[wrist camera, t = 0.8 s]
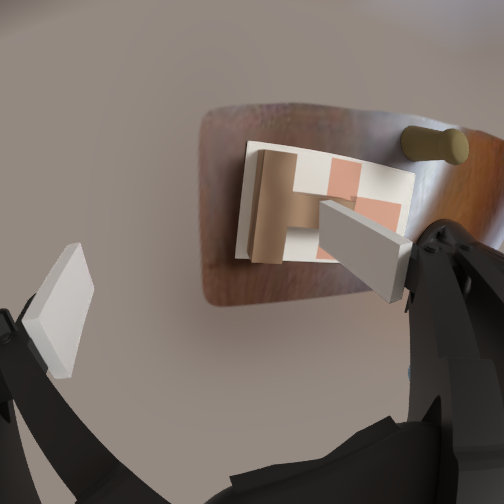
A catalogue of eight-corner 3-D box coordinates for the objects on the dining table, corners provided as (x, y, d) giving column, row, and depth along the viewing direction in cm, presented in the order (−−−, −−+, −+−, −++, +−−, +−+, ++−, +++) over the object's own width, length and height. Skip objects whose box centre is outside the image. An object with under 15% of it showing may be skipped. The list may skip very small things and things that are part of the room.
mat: (414, 173, 42) (415, 173, 42) (396, 264, 47) (396, 265, 47) (247, 140, 36) (247, 140, 36) (234, 257, 41) (235, 258, 41)
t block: (347, 163, 39) (361, 165, 35) (331, 256, 43) (342, 266, 40) (258, 149, 36) (265, 149, 33) (246, 252, 41) (251, 262, 37)
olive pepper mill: (423, 166, 42) (470, 174, 31) (397, 154, 40) (446, 160, 30) (428, 133, 40) (476, 136, 30) (404, 120, 38) (452, 118, 28)
